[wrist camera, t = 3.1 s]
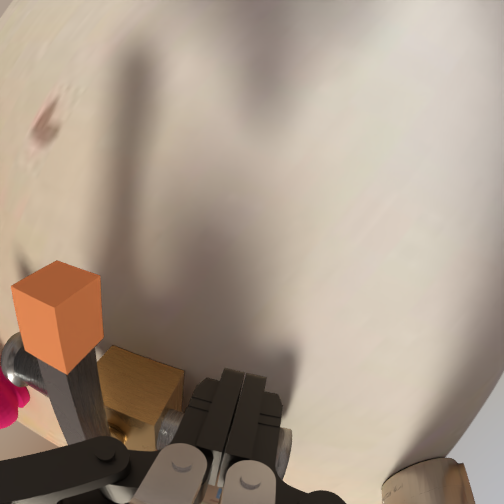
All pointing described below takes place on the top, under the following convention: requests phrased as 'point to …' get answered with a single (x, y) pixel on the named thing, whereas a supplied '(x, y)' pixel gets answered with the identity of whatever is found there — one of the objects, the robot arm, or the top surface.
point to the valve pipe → (129, 396)
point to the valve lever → (65, 343)
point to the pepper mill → (10, 400)
